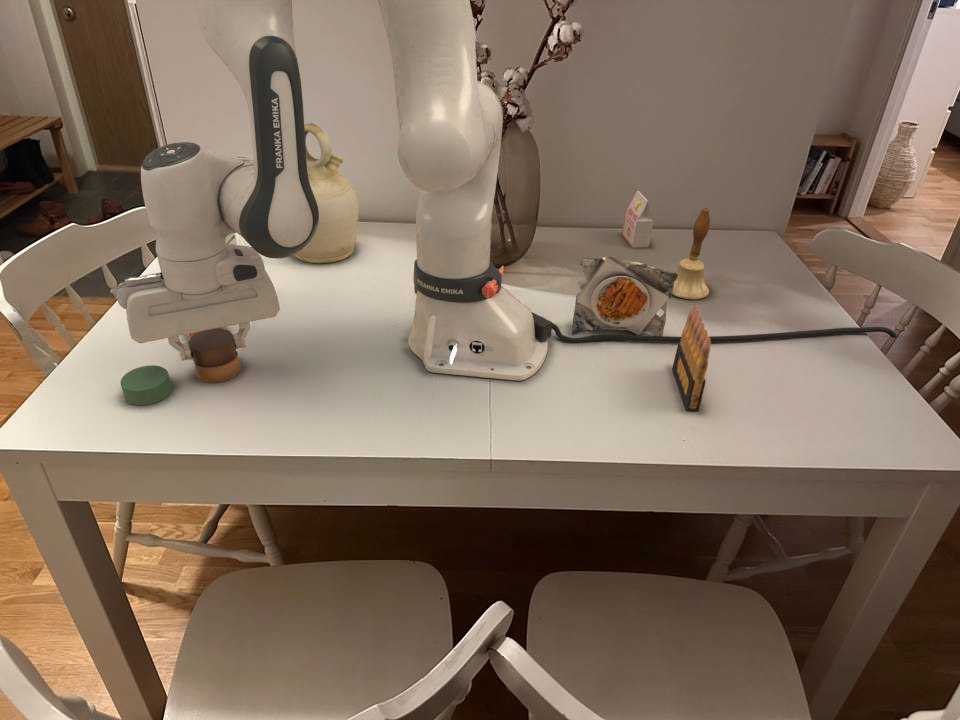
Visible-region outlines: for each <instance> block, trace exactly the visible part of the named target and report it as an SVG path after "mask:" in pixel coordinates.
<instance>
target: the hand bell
mask: <svg viewBox="0 0 960 720" xmlns="http://www.w3.org/2000/svg"><path fill="white" fill-rule="evenodd" d="M710 227H711V214H710V208H708V207H703V208H702V209H701V211H700V213H699V214H698V216H697V217H696V219H695V222H694V225H693V229H692V230H693V231H692V234H693V235H692V237H693V240H692V241H693V242H692V246H691V249H690V253H689V255H688V258H683V259H681V260H680V261H679V264H678V267H677V269H676V271H675V272H676V273H677V274H678V277H677V279H676V280H675V281H674V288H673V293H672V296H674V297H678V298H680V299H684V300H692V301H693V300H701V299H705V298H707V297H708V296H709V294H710V289H709V286H708V285H707V284H706V282H705V277H704V276H705V264H704V262H702V261H700V260H699V258H700V255H701V250H702V245H703V242H704V240H705V238H706V236H707V235H708V232H709V230H710Z"/></svg>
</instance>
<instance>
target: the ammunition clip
mask: <svg viewBox="0 0 960 720" xmlns="http://www.w3.org/2000/svg"><path fill="white" fill-rule="evenodd" d="M708 336H709V335H708V330H707V329H706V327H705V323H704V322H703V320H702V317H701V316H700V312H699V310H697V305H696V304H693V305H692V306H691V308H690V310H689V312H688V314H687V318H686V322H685V325H684V327H683V329H682V333H681V336H680V337H681V341H680V342H677V347H676V351H675V355H674V359H673V364H672V366H671V367H672V368H671V370H672V373H673V376H674V379H675V382H676V385H677V389H678V391H679V392H678V393H679V395H680V398H681V400H682V403H683V406H684V410H685V411H692V412H699V411H700V407H701V403H702V398H703V395H704V392H705V386H706V379H705V378H706V375H707V370H708V367H709V357H710V352H711V346H712V345H711V344H712V342H711V341H710V337H708Z"/></svg>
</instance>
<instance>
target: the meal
mask: <svg viewBox="0 0 960 720" xmlns="http://www.w3.org/2000/svg"><path fill="white" fill-rule="evenodd" d="M580 266H581V267H582V272H583V273H584V276H585V279H583V280H580V281H578V282H577V283H578V286H579V288H580V291H579V292H578V293H577V294H576V296H575V304H574V311H573V318H572V319H573V320H572V327H571V334H572V335H574V334H576V333H578V331H579V332H580V331H586V330H590V331H591V332H596V331H599V330H601V329H605V330H607V329H608V330H610V329H611V330H617V331H618V330H619V331H620V330H621V331H627V330H628V331H630V332H632V333H634V334H635V335H638V336H644V334H645V333H646V332H647V333H649V334H650V336H664V330H665V325H666V322H667V305H668V300H669V299H672V296H673V295H672V293H673V288H674V281H675V280H676V279H677V277H678V274H677V273H676V271H675V272H669V271H666V270H665V269H663V268H656V267H655V266H651V265H648V264H647V263H646V262H639V261H632V260H624V259H619V258H616V257H613V256H603V257H601V258H590V257H583V258H581V259H580ZM660 310H662V311H663V313H662V314H661V315H660V316H659V315H658V314H657V313H658V312H659V311H660Z"/></svg>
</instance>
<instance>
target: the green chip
mask: <svg viewBox="0 0 960 720" xmlns="http://www.w3.org/2000/svg"><path fill="white" fill-rule="evenodd" d="M119 382H120V383H119V384H120V386H121V387H120V388H121V390H122V393H123V396H124V400H125V401H126V402H127V403H128V404H130V405H133V406H141V407H144V406H151V405H153V404H158V403H160V402H162V401H164V400H165V399H166V398H168V397H169V396H170V395H171V393H172V392H173V386H172V381H171V379H170V375H169V371H168V370H167V369H166V368H165V367H163V366H160V365H143V366H139V367H135V368H134V369H131V370H130V371H128V372H126V373H125V374H124V375H123V376H122V377H121V379H120V381H119Z"/></svg>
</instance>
